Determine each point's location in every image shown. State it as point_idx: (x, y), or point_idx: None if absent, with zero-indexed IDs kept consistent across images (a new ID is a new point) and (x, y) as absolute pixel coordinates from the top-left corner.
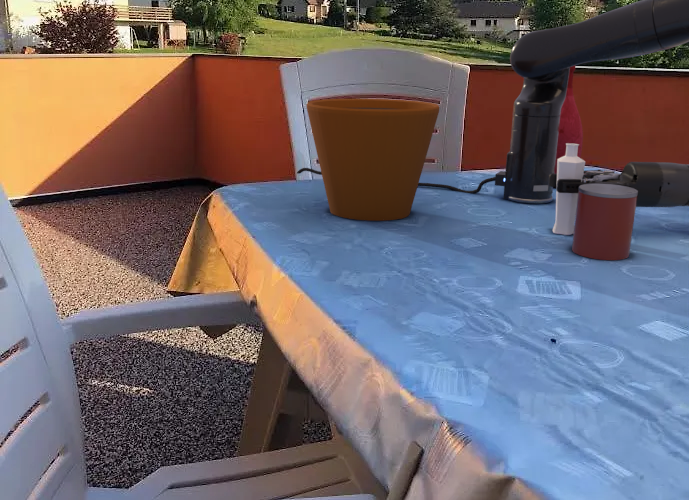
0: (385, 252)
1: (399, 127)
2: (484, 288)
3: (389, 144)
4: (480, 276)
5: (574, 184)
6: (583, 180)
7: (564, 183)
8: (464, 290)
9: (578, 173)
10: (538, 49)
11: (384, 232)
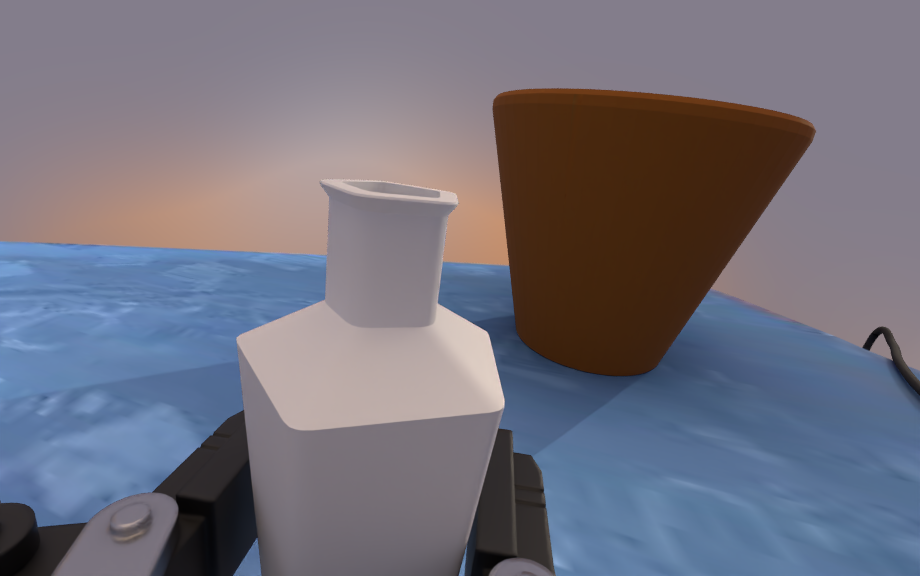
0: (309, 302)
1: (504, 134)
2: (20, 325)
3: (503, 173)
4: (83, 338)
5: (190, 466)
6: (139, 496)
7: (238, 415)
8: (46, 310)
9: (260, 463)
10: None
11: None
